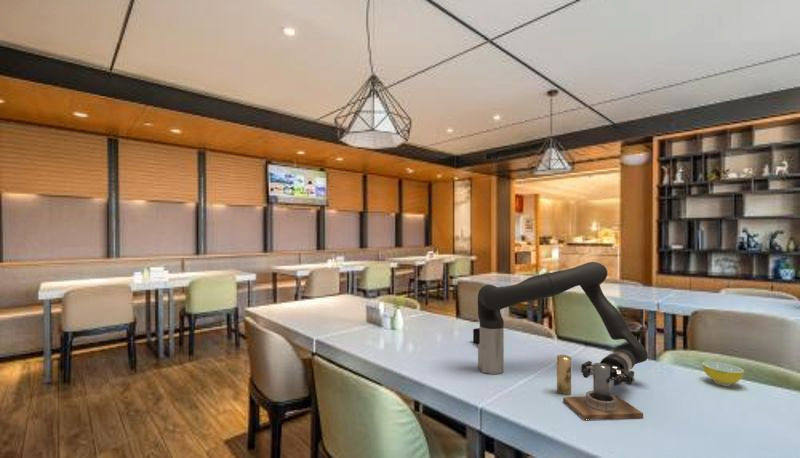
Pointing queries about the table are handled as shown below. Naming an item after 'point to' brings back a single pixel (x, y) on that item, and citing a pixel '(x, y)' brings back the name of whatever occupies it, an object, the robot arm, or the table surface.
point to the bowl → (723, 373)
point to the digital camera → (476, 336)
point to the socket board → (602, 414)
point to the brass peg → (564, 374)
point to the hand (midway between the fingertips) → (599, 378)
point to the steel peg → (601, 382)
